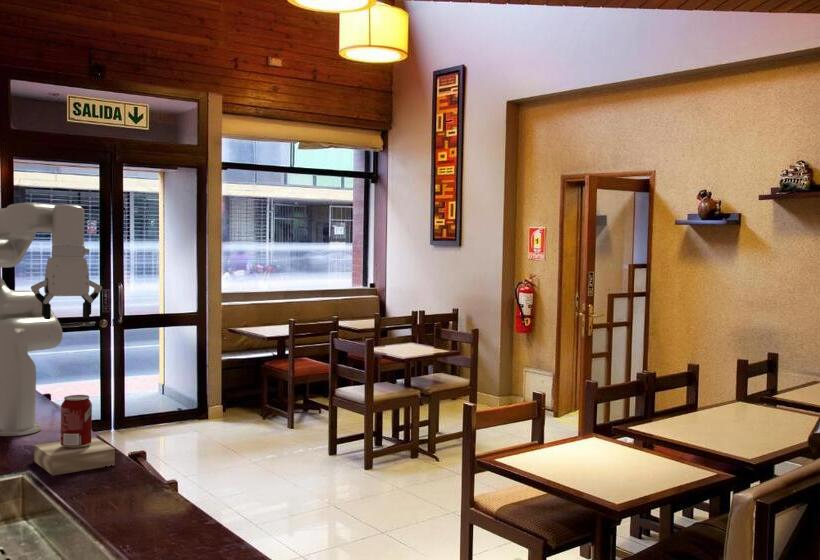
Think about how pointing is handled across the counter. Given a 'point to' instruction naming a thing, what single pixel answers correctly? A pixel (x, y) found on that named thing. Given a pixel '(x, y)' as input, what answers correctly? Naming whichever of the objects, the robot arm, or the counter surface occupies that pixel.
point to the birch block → (73, 457)
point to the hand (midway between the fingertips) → (66, 318)
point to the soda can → (76, 421)
